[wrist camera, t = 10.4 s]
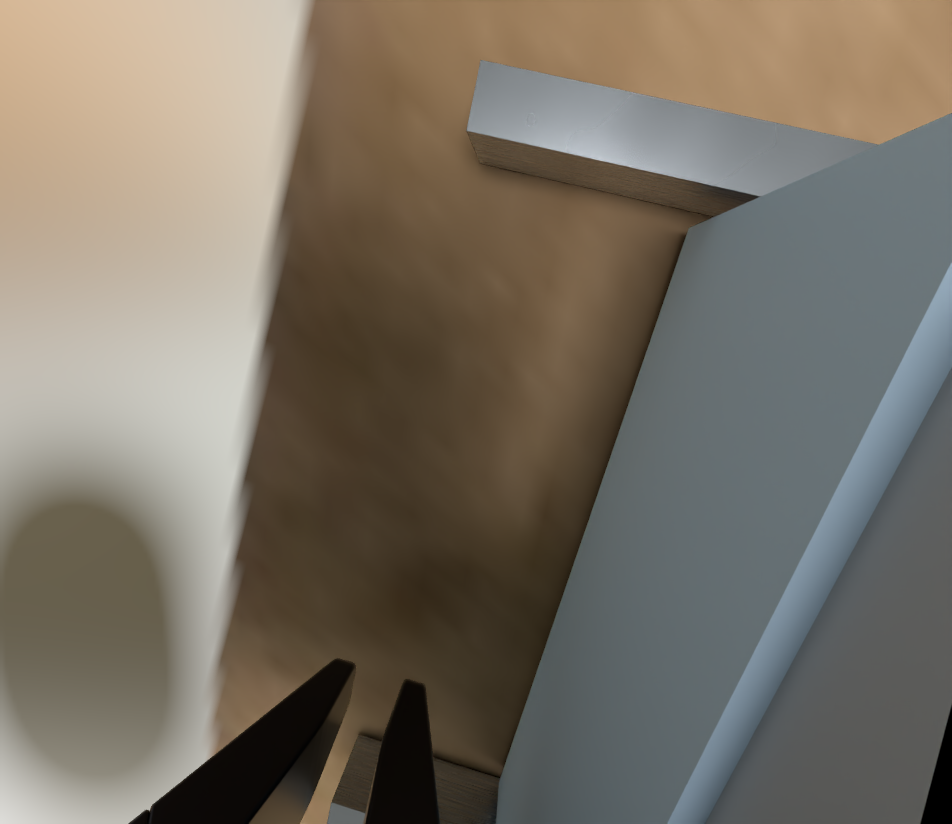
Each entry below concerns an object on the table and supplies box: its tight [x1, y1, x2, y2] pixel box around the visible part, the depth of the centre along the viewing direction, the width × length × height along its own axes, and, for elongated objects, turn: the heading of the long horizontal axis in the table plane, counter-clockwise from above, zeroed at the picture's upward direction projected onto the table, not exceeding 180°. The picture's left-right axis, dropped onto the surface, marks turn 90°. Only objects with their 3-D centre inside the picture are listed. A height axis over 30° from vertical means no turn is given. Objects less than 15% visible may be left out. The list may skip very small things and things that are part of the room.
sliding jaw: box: [496, 113, 952, 824], centre depth 6 cm, size 12×3×6 cm, turn 167°
